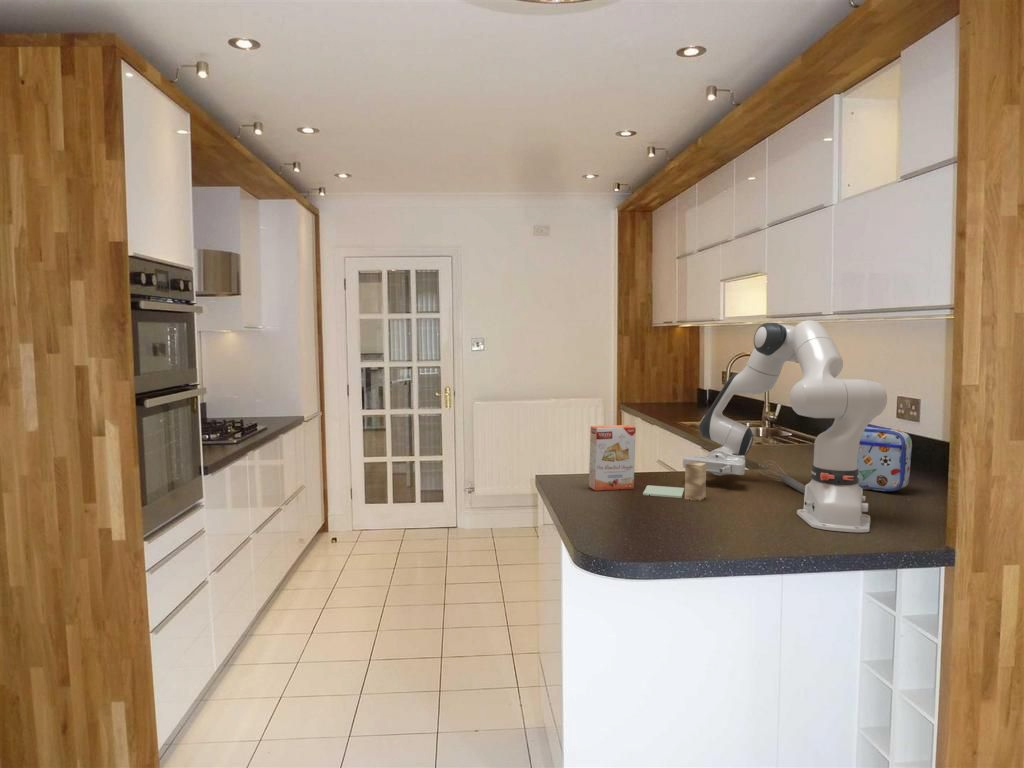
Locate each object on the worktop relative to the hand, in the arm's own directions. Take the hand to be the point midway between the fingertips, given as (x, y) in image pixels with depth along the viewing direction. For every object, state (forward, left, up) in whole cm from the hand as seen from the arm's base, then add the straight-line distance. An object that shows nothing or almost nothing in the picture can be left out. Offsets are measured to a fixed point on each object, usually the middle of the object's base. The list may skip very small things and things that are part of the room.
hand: (707, 468), depth 223 cm
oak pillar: (-12, +3, -7) cm, 14 cm away
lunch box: (+23, -50, -7) cm, 55 cm away
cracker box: (-7, +30, -7) cm, 32 cm away
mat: (-7, +13, -7) cm, 17 cm away
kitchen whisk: (+19, -25, -8) cm, 33 cm away
